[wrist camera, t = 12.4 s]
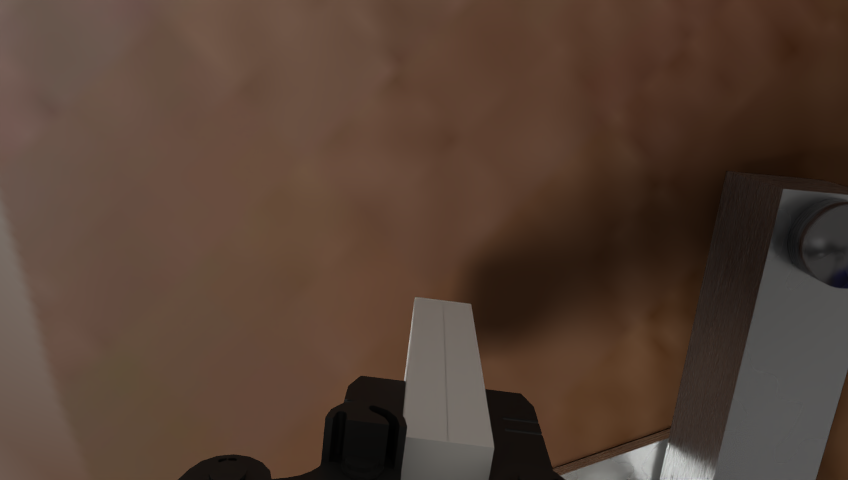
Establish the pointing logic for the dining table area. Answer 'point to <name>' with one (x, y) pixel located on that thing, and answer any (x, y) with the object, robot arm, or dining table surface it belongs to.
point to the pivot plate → (622, 461)
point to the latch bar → (765, 335)
